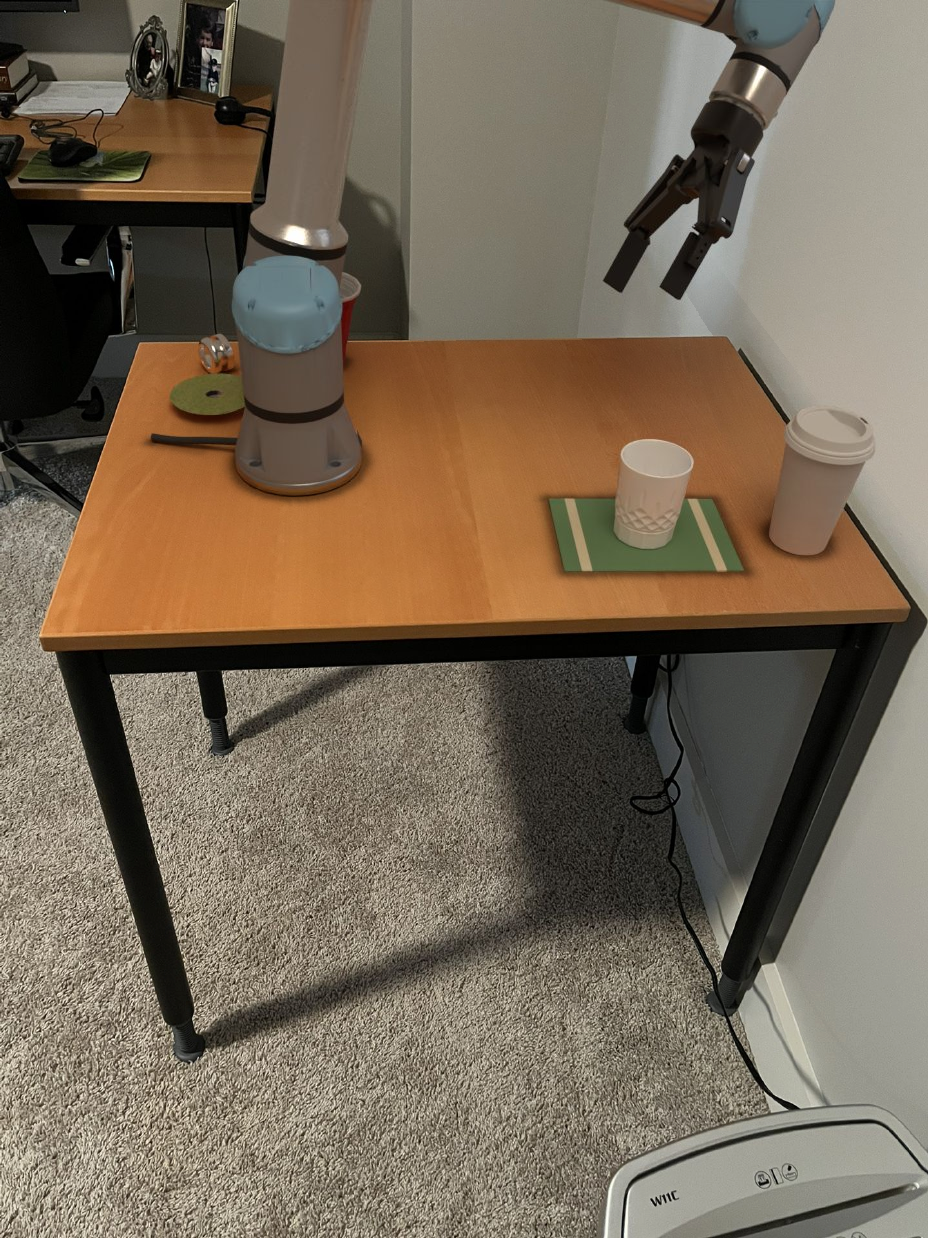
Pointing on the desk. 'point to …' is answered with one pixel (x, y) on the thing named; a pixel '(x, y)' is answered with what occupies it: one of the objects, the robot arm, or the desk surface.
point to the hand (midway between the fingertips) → (639, 290)
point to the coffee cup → (818, 476)
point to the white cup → (650, 492)
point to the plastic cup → (347, 305)
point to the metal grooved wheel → (216, 353)
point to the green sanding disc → (209, 394)
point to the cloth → (599, 550)
